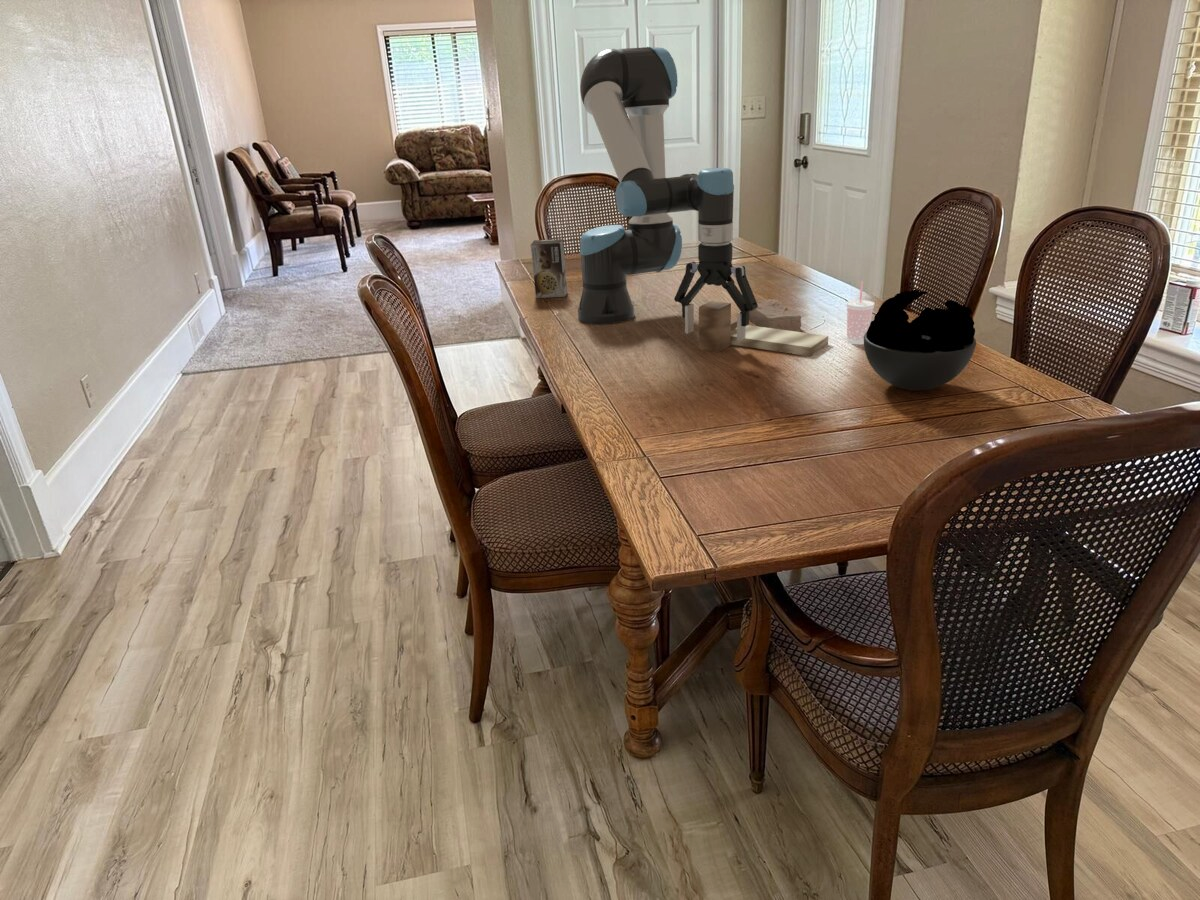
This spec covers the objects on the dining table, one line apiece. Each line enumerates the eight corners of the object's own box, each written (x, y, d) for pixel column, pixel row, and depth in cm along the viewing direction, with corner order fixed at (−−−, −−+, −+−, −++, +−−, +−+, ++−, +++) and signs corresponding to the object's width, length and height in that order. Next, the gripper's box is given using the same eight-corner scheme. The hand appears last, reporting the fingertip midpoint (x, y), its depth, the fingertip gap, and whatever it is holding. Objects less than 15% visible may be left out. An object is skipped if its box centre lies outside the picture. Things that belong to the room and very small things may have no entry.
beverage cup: (851, 336, 189) (856, 276, 183) (876, 340, 185) (881, 280, 179) (838, 342, 185) (842, 282, 179) (862, 347, 181) (867, 285, 175)
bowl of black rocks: (848, 372, 166) (855, 282, 158) (946, 368, 165) (958, 277, 157) (875, 408, 148) (885, 308, 140) (986, 404, 147) (1002, 303, 139)
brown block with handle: (698, 349, 186) (698, 306, 182) (725, 334, 195) (726, 294, 191) (717, 352, 183) (718, 309, 179) (744, 337, 192) (745, 296, 188)
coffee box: (567, 292, 244) (564, 238, 238) (564, 297, 239) (561, 242, 232) (538, 293, 245) (533, 239, 239) (534, 298, 240) (530, 243, 233)
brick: (802, 332, 195) (803, 313, 193) (770, 336, 193) (771, 317, 191) (775, 316, 209) (775, 298, 208) (744, 319, 208) (745, 301, 206)
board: (707, 340, 191) (707, 332, 190) (727, 330, 198) (727, 322, 198) (810, 356, 177) (810, 347, 176) (827, 344, 184) (828, 335, 183)
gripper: (658, 242, 181) (660, 333, 190) (759, 249, 167) (756, 347, 176) (676, 236, 186) (677, 325, 195) (774, 243, 172) (771, 338, 181)
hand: (714, 335), depth 185 cm, fingers open, 13 cm apart
